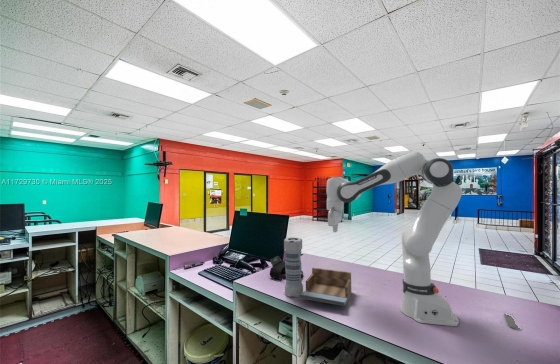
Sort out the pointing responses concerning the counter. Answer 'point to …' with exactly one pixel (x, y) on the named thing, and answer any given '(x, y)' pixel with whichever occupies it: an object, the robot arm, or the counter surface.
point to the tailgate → (323, 298)
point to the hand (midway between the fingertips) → (335, 231)
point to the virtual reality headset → (279, 269)
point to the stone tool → (510, 322)
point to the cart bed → (329, 283)
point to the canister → (293, 266)
